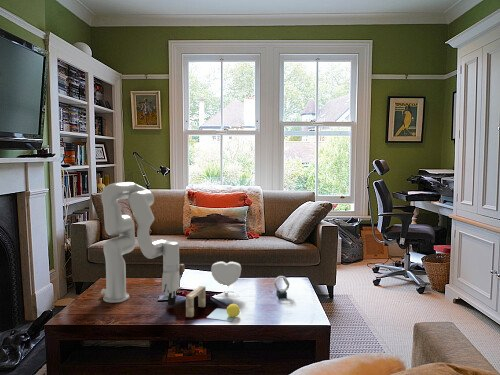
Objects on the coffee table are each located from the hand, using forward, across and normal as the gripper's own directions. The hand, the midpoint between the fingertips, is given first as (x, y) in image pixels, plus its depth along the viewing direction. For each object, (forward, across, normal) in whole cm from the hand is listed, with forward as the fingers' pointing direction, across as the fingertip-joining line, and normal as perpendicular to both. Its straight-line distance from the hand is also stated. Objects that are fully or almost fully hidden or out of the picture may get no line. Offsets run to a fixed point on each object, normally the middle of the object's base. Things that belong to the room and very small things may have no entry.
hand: (171, 304), depth 193 cm
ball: (-2, +1, +32) cm, 32 cm away
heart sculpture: (+2, -24, +19) cm, 31 cm away
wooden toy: (+2, -24, -11) cm, 26 cm away
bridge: (+2, 0, +13) cm, 13 cm away
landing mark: (+2, 0, +27) cm, 27 cm away
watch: (+2, -32, +47) cm, 57 cm away
